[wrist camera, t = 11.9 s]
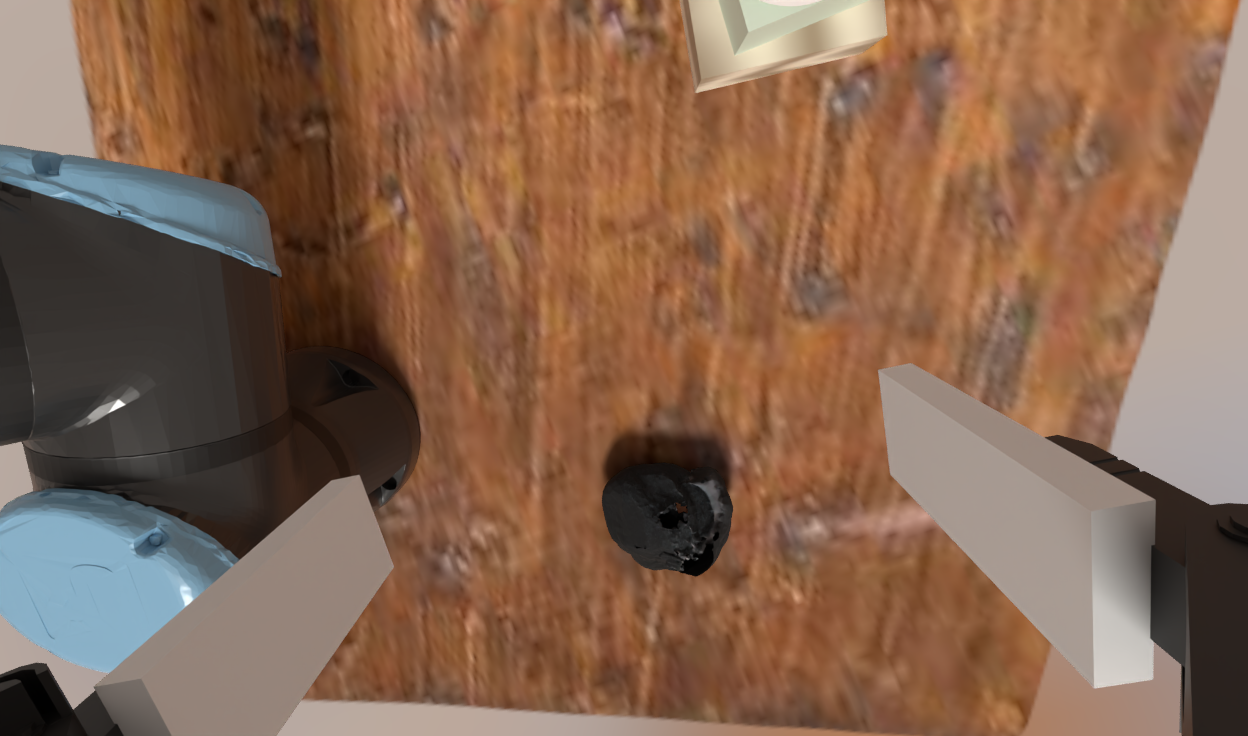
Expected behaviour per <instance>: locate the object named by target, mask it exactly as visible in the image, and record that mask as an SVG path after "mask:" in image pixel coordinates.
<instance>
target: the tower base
mask: <svg viewBox="0 0 1248 736" xmlns="http://www.w3.org/2000/svg"><path fill="white" fill-rule="evenodd" d="M680 6H681V12H682V18H683V24H684V30H685V36H686V42H687V48H688V54H689V60H690V66H691V72H692V78H693V84H694V90H695V93H698V92H702V91H706V90H710V89H715V88H719V87H723V86H727V85H732V84H736V83H740V82H744V81H748V80H753V79H757V78H761V77H765V76H770V75H774V74H778V73H782V72H786V71H791V70H795V69H799V68H803V67H808V66H812V65H816V64H820V63H824V62H829V61H833V60H837V59H841V58H846V57H850V56H854V55H858V54H862V53H863V52H864V51H866V50H867V49H869V48H870V47H871V46H873V45H874V44H875V43H877V42H878V41H880V40H881V39H882V38H884V37H885V36H887V26H886V14H885V2H884V0H869V1H866V2H864V3H862V4H859V5H857V6H854V7H852V8H849V9H847V10H845V11H842V12H840V13H837V14H835V15H833V16H830V17H828V18H825V19H823V20H820V21H818V22H816V23H813V24H811V25H808V26H806V27H803V28H801V29H799V30H796V31H794V32H791V33H789V34H786V35H784V36H782V37H779V38H777V39H774V40H772V41H770V42H767V43H765V44H762V45H760V46H757V47H755V48H753V49H750V50H748V51H745V52H743V53H740V54H738V55H736V56H735V55H734V52H733V48H732V45H731V42H730V38H729V35H728V31H727V28H726V25H725V21H724V18H723V14H722V11H721V8H720V4H719V1H718V0H680Z"/></svg>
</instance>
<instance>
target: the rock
mask: <svg viewBox="0 0 1248 736" xmlns="http://www.w3.org/2000/svg"><path fill="white" fill-rule="evenodd" d="M676 502H677V503H679V504H680V503H681V506H686V505H687V507H686V508H687V509H688V513H686V512H682V513H678V511H677V508H676V505H677V504H675V503H676ZM602 506H603V511H604V515H605V520H606V524H607V527H608V530H609V533H610V535H611V537H612V539H613V540H614V541H615V542H616V543H617V544H618V546H619V547H620V548H621V549H623V550H624V551H626V552H627V553H629V554H631V555H632V557H633V558H634V560H635V561H636V562H638V563H639V564H640V565H641V566H643V567H645V568H649V569H652V570H662V569H668V570H673V571H674V570H675V571H679V572H680V573H686V574H688V575H692V576H698V575H700V574H702V573H704V572H705V571H706V570H708V569H709V568H710V567H711V566H712V565H713V564H714V562H715V561H716V559H717V558H718V556H719V553H720V551H721V549H722V547H723V546H724V544H725V543H726V541H727V539H728V536H729V531H730V527H731V518H732V512H733V505H732V502H731V499H730V496H729V494H728V491H727V488H726V485H725V482H724V479H723V478H722V477H721V475H720V474H719V473H718V472H717V470H715V469H713V468H710V467H704V468H696V469H692V470H691V472H689V471H688V470H686V469H684V468H682V467H680V466H677V465H675V464H671V463H654V464H641V465H636V466H631V467H628V468H625V469H623V470H622V471H620V472H619V473H618V474H616V475H615V476H614V477H613V478H611V480H610V481H609V482H608V483H607V484H606V486H605V488H604V491H603V495H602Z"/></svg>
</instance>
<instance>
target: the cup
mask: <svg viewBox="0 0 1248 736" xmlns="http://www.w3.org/2000/svg"><path fill="white" fill-rule="evenodd" d="M759 1H762V2H765V3H768V4H773V5H778V6H802V5H808V4H812V3H815V2H819V1H821V0H759Z"/></svg>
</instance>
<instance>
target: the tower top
mask: <svg viewBox="0 0 1248 736" xmlns="http://www.w3.org/2000/svg"><path fill="white" fill-rule="evenodd" d="M718 1H719V4H720V8H721V11H722V14H723V18H724V21H725V25H726V28H727V31H728V35H729V38H730V42H731V45H732V48H733V52H734V55H735V56H736V55H738V54H740V53H743V52H745V51H748V50H750V49H753V48H755V47H757V46H760V45H762V44H765V43H767V42H770V41H772V40H774V39H777V38H779V37H782V36H784V35H786V34H789V33H791V32H794V31H796V30H799V29H801V28H803V27H806V26H808V25H811V24H813V23H816V22H818V21H820V20H823V19H825V18H828V17H830V16H833V15H835V14H837V13H840V12H842V11H845V10H847V9H849V8H852V7H854V6H857V5H859V4H862V3H864V2H866V1H869V0H821V1H819V2H815V3H812V4H808V5H802V6H778V5H773V4H768V3H765V2H762V1H759V0H718Z"/></svg>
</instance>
